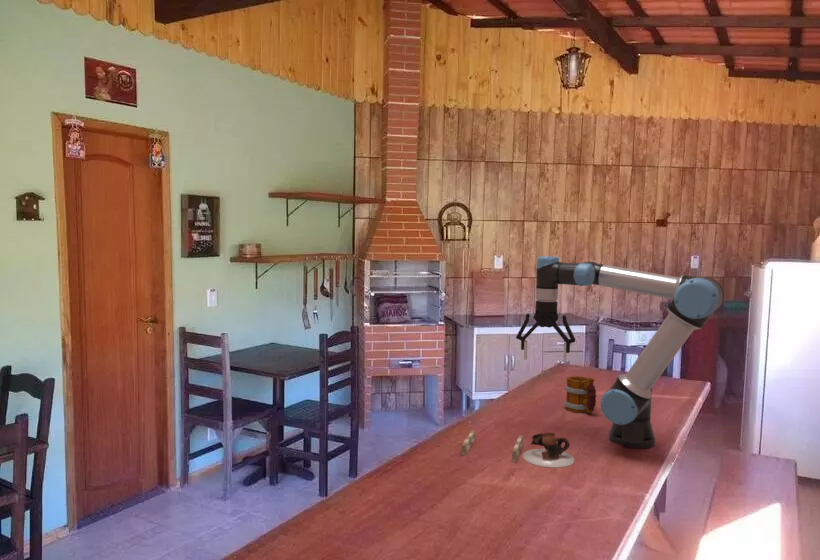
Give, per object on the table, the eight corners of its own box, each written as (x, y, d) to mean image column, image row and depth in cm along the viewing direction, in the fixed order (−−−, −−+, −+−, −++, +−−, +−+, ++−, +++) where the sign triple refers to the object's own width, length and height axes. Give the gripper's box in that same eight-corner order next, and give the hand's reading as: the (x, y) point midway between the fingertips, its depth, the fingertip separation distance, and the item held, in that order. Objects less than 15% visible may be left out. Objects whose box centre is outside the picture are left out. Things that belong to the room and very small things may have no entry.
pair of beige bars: (471, 440, 216) (471, 430, 216) (522, 445, 211) (522, 435, 211) (461, 455, 201) (461, 445, 201) (515, 462, 196) (516, 451, 196)
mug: (581, 404, 263) (582, 369, 262) (605, 415, 247) (606, 378, 246) (559, 406, 260) (560, 371, 258) (581, 418, 244) (583, 380, 243)
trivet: (575, 452, 205) (575, 452, 205) (573, 470, 190) (573, 469, 190) (526, 447, 210) (526, 446, 210) (519, 463, 195) (519, 463, 195)
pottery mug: (533, 460, 197) (528, 434, 200) (535, 464, 205) (530, 439, 209) (572, 455, 195) (566, 428, 198) (572, 459, 203) (567, 433, 207)
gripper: (584, 301, 219) (582, 361, 221) (512, 297, 227) (510, 356, 228) (583, 303, 212) (581, 365, 214) (509, 300, 219) (507, 360, 221)
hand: (544, 360), depth 221 cm, fingers open, 13 cm apart
